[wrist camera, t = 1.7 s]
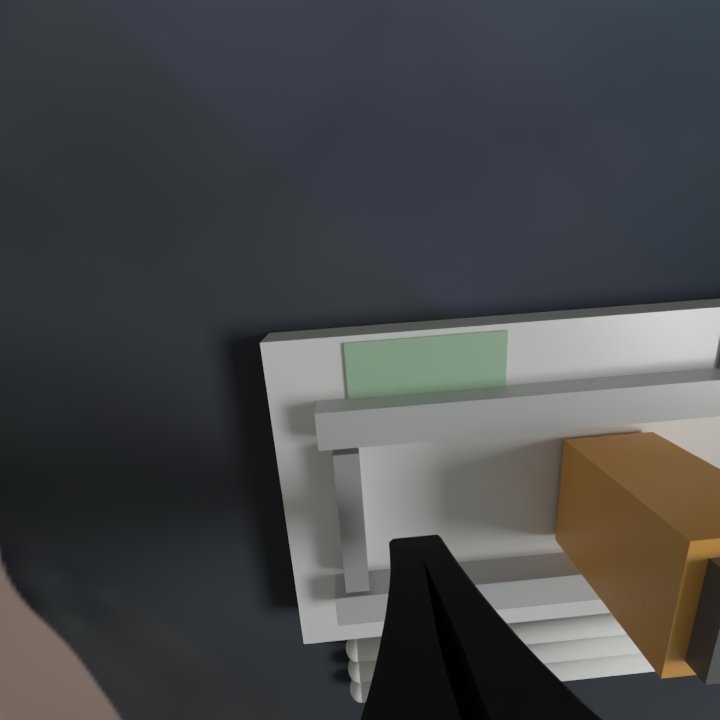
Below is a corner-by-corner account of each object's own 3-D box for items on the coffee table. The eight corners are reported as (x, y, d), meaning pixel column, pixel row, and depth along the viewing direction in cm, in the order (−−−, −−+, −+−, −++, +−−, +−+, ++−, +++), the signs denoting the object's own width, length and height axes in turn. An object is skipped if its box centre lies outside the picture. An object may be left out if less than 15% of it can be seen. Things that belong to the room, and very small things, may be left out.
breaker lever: (636, 531, 13) (806, 689, 8) (554, 539, 13) (679, 703, 8) (652, 431, 12) (858, 545, 7) (564, 439, 12) (713, 560, 7)
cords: (762, 585, 16) (789, 606, 15) (746, 642, 17) (770, 664, 16) (344, 628, 16) (345, 651, 15) (350, 683, 17) (351, 709, 16)
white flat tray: (801, 559, 16) (882, 611, 14) (307, 608, 16) (301, 672, 13) (889, 285, 13) (1014, 291, 10) (269, 333, 12) (251, 350, 10)
